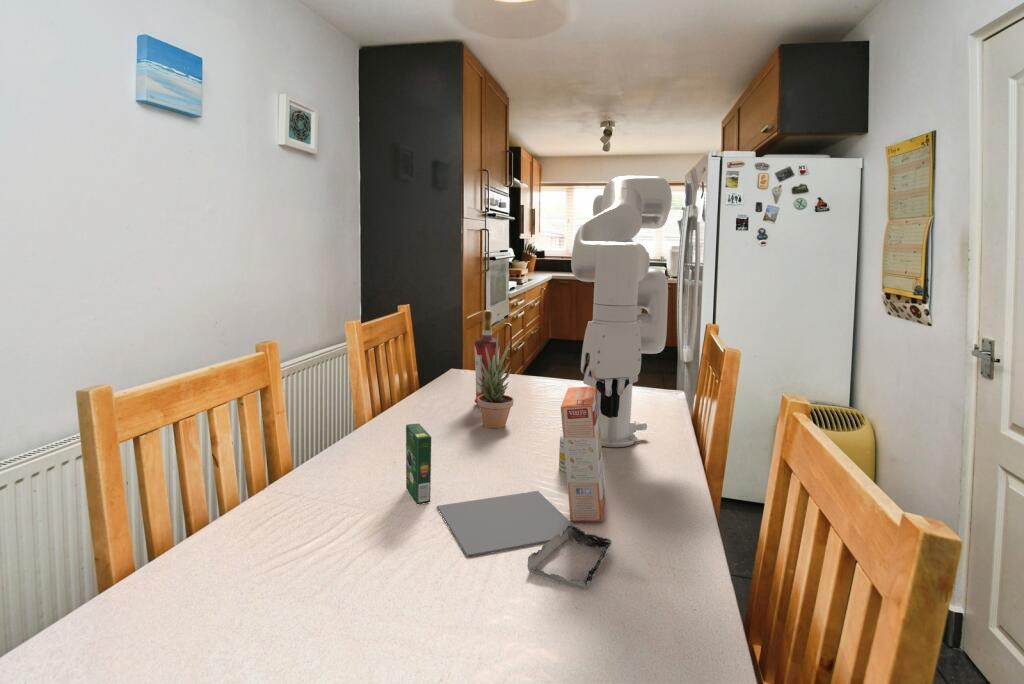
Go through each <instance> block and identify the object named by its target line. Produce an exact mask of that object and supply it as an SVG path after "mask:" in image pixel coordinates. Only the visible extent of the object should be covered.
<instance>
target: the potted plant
mask: <svg viewBox="0 0 1024 684" xmlns="http://www.w3.org/2000/svg"><path fill="white" fill-rule="evenodd" d="M498 341H499V332H497V334H496V353H495V360H494V356H493V359H492V364H491V361H490V357H489V354H488V351H487V348H486V356H487V361H488V368H489V372H488V371H487V370H486V368H485V366H484V364H483V363H482V367H483V370H484V371H483V370H482V369H481V368H480V370H481V372H482V374H483V376H484V378H485V379H484V381H485V382H483V381H482V380H481V378H480V377H479V379H480V381H481V382H482V383H483V384H484V386H485V388H484V387H483V386H482V385H480V384H479V383H478V382H476V381H475V384H476V383H477V384H478V385H479V386H480V387H481V388H482V389H483V390H482V389H481V390H482V391H483V392H484V395H480V396H479V397H478V398H477V404H478V405H479V406H478V405H477V404H476V405H477V406H478V407H479V411H480V414H481V419H482V423H483V427H485V428H487V427H488V429H501V428H502V429H503V428H505V426H506V424H507V423H508V418H509V416H510V412H511V409H512V407H513V406H514V400H515V399H514V397H513V396H510V395H507V394H506V390H507V389H508V385H509V383H510V381H507V383H505V384H504V382H505V381H506V380H507V379H508V378H509V377H510V372H511V370H512V369H511V368H510V369H509V370H508V368H509V365H510V361H508V363H507V364H506V365H505V367H504V368H503V369H502V366H503V364H504V361H505V359H506V357H507V355H508V354H507V353H508V351H509V348H510V345H511V340H509V342H508V344H507V346H506V347H505V350H504V352H503V353H502V356H501V358H500V359H499V362H498V365H497V361H498ZM507 370H508V372H506V371H507ZM484 372H485V373H484ZM504 374H505V376H504ZM503 376H504V377H503ZM484 390H485V391H486V392H485V391H484Z"/></svg>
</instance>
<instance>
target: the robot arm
mask: <svg viewBox="0 0 1024 684" xmlns="http://www.w3.org/2000/svg"><path fill="white" fill-rule="evenodd" d="M670 185H671V184H670V183H669V182H668V180H667V179H666V178H664V177H662V176H659V175H658V176H656V175H653V176H651V175H650V176H649V175H637V176H636V175H625V176H623V175H622V176H618V177H614V178H612V179H611V180H609V181H608V182H607V184H606V185H605V186H604V189H603V192H602V193H600V194H598V195H597V196H596V197H595V198H594V200H593V204H592V217H591V218H590V219H588V220H586V221H585V222H584V223H582V224H581V225H580V227H579V228H578V229H577V232H576V234H575V236H574V241H573V246H572V253H571V257H570V261H571V263H570V266H571V272H572V274H573V276H574V277H575V279H577V280H579V281H581V282H587V283H592V282H593V284H594V285H593V287H594V288H593V305H592V308H593V309H592V320H591V321H590V320H589V321H588V322H587V325H586V328H585V332H584V337H583V338H584V339H583V343H582V349H581V350H582V351H581V360H580V372H581V374H582V375H584V376H583V381H582V382H583V384H584V385H586V386H593V387H596V388H597V395H598V407H599V419H600V432H601V445H602V447H608V448H625V447H629V446H632V445H633V444H635V443H636V439H637V437H636V435H635V433H636V432H637V431H646V430H647V428H648V425H647V423H646V421H645V422H644V421H642V422H638V423H637V421H635V420H631V417H632V401H633V400H632V397H633V395H632V394H633V384H634V383H637V382H638V381H639V374H640V372H641V367H642V354H649V355H650V354H652V355H654V354H658V353H662V352H663V350H664V349H665V346H666V341H667V333H668V332H667V329H668V307H669V306H668V304H669V302H668V300H669V287H668V285H669V282H668V277H667V276H666V274H665V272H663V271H662V270H660V269H658V268H657V269H656V268H650V264H651V263H650V261H651V259H650V258H651V257H650V253H649V252H648V251H647V249H646V247H645V245H643V244H641V243H638V242H634V240H633V238H635V237H636V236H637V235H638V233H639V232H640V230H641V229H647V230H648V229H649V230H650V229H660V228H662V227H663V226H665V224H666V223H667V220H668V217H669V213H670V212H671V206H672V203H673V202H672V201H673V198H672V197H673V194H672V188H671V186H670ZM643 309H644V310H646V311H647V313H642V311H643Z"/></svg>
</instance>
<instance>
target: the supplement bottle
mask: <svg viewBox="0 0 1024 684" xmlns="http://www.w3.org/2000/svg"><path fill="white" fill-rule="evenodd" d="M558 454H559V455H558V468H559V469H560V471H562V472H564V473H566V463H565V452H564V440H563V433H561V434H560V436H559V453H558Z"/></svg>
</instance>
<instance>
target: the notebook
mask: <svg viewBox="0 0 1024 684" xmlns="http://www.w3.org/2000/svg"><path fill="white" fill-rule="evenodd" d="M436 508H438V509H437V510H438V511H440V512H439V514H440V513H441V514H442V515H441V514H440V515H441V517H442V516H443V517H442V519H443V518H444V519H443V520H444V522H445V521H446V522H445V523H446V526H449V527H448V528H449V530H450V531H452V532H451V533H452V535H453V537H454V538H455V540H456V539H457V540H456V541H457V542H459V543H458V545H459V544H460V545H459V546H460V548H461V547H462V548H461V550H462V551H463V552H465V553H464V554H465V556H466V555H467V556H466V558H471V556H472V557H476V556H477V555H478V556H482V555H488V554H493V553H492V552H494V553H499V552H503V551H504V552H505V551H509V550H515V549H519V547H521V548H525V546H526V547H531V546H536V544H537V545H541V544H545V543H547V542H549V541H550V540H551V539H552V538H553V537H554V536H555V535H556V534H560V536H561V535H562V534H563V531H564V530H566V527H567V525H572V526H575V524H573V522H572V521H571V520H569V519H568V518H567V517H566V516H565V515H564V514H563V513H562V512H561V511H560V510H559V509H558V508H556V506H555V505H554V504H553V503H552V502H550V501H549V500H548V499H547V498H546V497H545V496H544V495H543V494H542V493H541V492H540V491H539V490H535V491H529V492H528V491H527V492H521V493H520V492H519V493H514V494H508V495H501V496H500V495H499V496H495V497H488V498H481V499H474V500H467V501H460V502H453V503H447V504H441V505H437V506H436ZM514 548H515V549H514Z"/></svg>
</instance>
